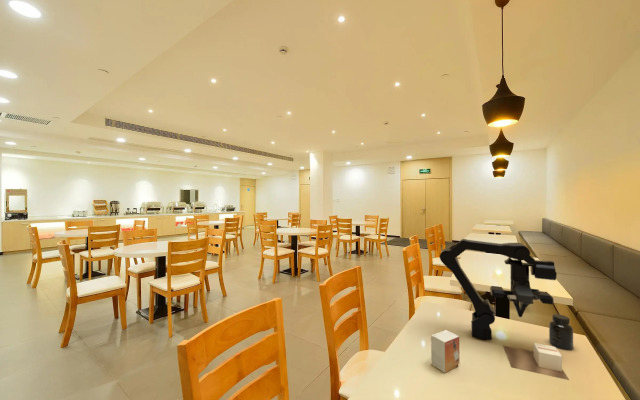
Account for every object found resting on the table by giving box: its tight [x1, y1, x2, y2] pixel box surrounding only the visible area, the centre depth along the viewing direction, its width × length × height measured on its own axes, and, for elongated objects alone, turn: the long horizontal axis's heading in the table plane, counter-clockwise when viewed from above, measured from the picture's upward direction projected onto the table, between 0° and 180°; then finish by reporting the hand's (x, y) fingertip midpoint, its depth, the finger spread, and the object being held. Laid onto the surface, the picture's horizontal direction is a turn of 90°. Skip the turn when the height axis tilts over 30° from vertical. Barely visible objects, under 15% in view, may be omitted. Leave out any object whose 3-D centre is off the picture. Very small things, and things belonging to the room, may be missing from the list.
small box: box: [430, 329, 461, 374], centre depth 91 cm, size 8×6×10 cm
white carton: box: [533, 342, 563, 372], centre depth 89 cm, size 6×6×5 cm
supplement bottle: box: [548, 313, 574, 351], centre depth 100 cm, size 7×7×12 cm
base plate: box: [502, 345, 570, 381], centre depth 91 cm, size 15×14×1 cm
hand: (519, 316), depth 101 cm, fingers closed
